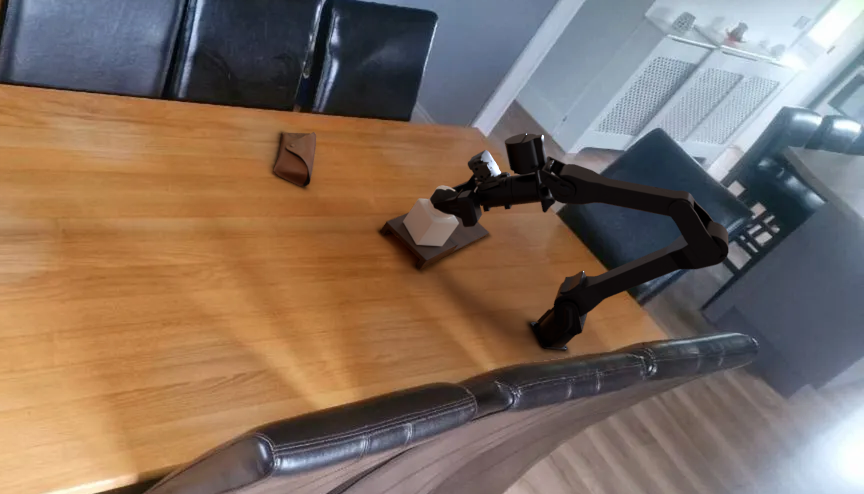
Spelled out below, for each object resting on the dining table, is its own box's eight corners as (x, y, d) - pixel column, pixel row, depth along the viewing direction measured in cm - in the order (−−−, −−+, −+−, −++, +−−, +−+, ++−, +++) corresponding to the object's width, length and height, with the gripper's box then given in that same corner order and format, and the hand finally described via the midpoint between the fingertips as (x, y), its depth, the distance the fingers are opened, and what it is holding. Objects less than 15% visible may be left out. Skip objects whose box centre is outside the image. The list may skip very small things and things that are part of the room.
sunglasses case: (280, 129, 164) (303, 115, 161) (297, 151, 168) (320, 137, 164) (272, 173, 151) (297, 158, 148) (291, 195, 154) (316, 181, 151)
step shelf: (451, 201, 171) (457, 192, 170) (487, 234, 167) (494, 226, 165) (379, 231, 151) (386, 221, 149) (419, 270, 146) (426, 260, 145)
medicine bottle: (442, 247, 150) (472, 206, 143) (415, 245, 147) (445, 203, 139) (427, 223, 155) (456, 182, 147) (401, 221, 151) (429, 179, 144)
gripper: (517, 135, 141) (442, 148, 150) (494, 168, 127) (413, 179, 136) (528, 187, 144) (454, 196, 153) (507, 224, 130) (427, 231, 139)
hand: (438, 199), depth 145 cm, fingers closed on medicine bottle, 6 cm apart
